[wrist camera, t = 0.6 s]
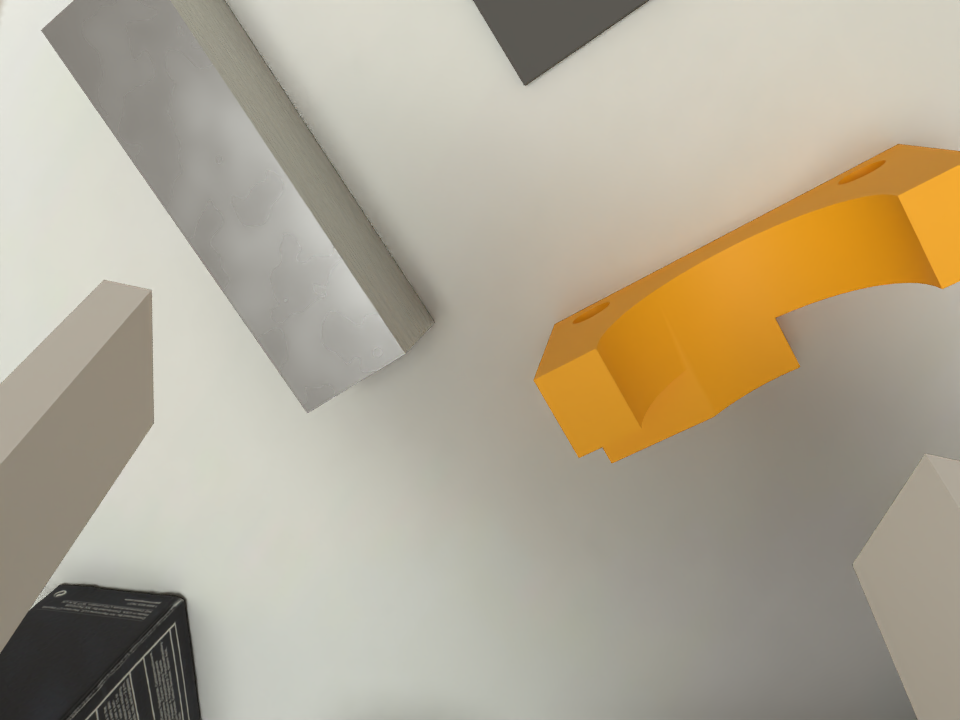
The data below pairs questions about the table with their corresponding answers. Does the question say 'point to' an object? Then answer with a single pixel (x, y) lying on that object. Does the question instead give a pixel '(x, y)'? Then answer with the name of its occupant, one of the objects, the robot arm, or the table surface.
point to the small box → (99, 659)
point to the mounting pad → (549, 28)
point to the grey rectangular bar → (245, 186)
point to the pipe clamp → (746, 301)
